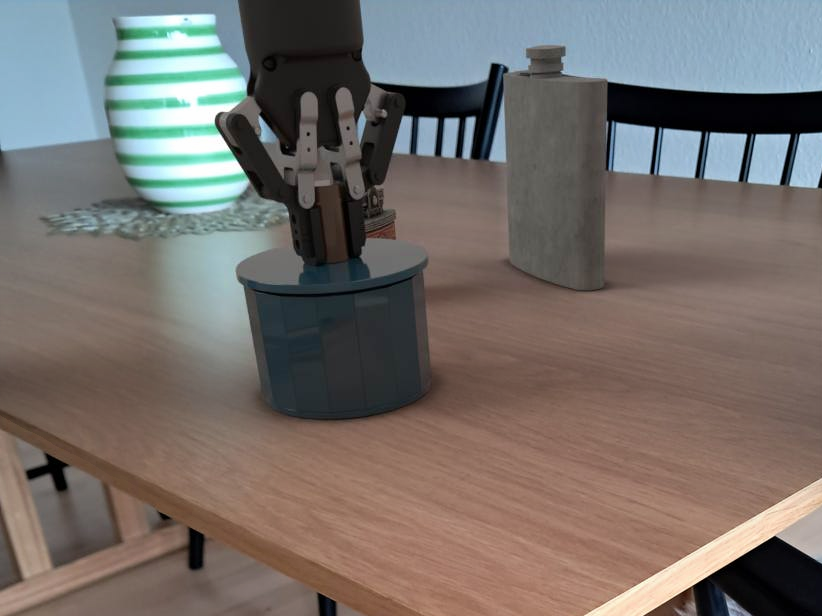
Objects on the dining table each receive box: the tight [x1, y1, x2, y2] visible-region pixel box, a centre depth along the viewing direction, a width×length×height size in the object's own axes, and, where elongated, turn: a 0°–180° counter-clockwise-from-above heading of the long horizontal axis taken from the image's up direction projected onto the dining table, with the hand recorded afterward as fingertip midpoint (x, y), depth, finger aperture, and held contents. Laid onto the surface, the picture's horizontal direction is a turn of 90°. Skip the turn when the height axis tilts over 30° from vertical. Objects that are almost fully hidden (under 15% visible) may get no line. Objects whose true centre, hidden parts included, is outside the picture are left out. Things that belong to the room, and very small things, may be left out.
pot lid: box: [235, 179, 430, 294], centre depth 70 cm, size 14×14×6 cm
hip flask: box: [502, 44, 608, 291], centre depth 97 cm, size 16×4×20 cm, turn 26°
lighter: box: [362, 185, 397, 240], centre depth 95 cm, size 8×3×10 cm, turn 154°
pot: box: [242, 270, 432, 420], centre depth 74 cm, size 13×13×8 cm
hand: (331, 258), depth 71 cm, fingers closed on pot lid, 2 cm apart
